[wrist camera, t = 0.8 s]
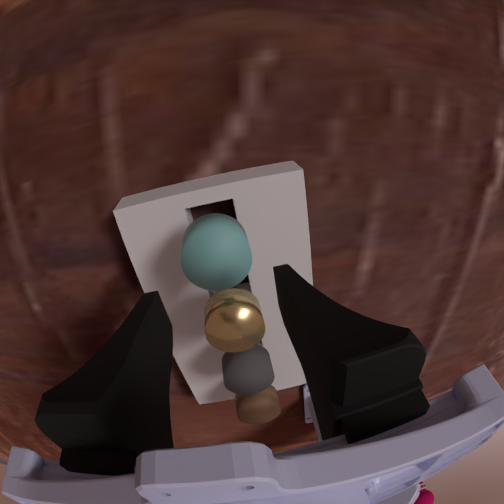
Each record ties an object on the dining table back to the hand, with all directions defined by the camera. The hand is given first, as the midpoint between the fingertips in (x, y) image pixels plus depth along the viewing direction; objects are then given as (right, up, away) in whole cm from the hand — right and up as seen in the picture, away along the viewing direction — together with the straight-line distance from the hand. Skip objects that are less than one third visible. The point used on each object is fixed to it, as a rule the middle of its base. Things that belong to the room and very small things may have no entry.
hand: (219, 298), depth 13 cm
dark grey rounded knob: (+1, -5, +11) cm, 12 cm away
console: (0, -2, +13) cm, 13 cm away
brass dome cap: (0, -1, +9) cm, 9 cm away
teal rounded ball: (-1, +4, +6) cm, 7 cm away
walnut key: (+1, -9, +14) cm, 17 cm away
